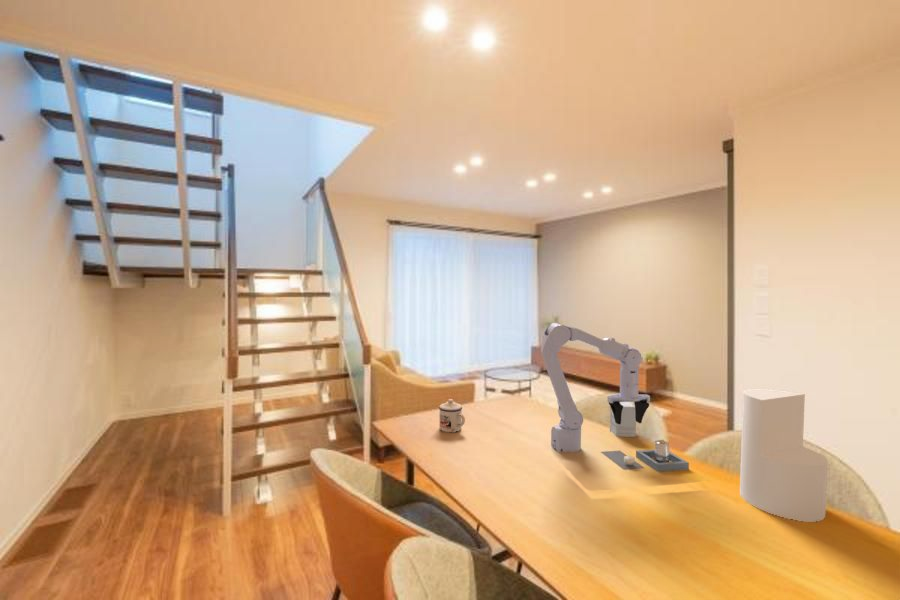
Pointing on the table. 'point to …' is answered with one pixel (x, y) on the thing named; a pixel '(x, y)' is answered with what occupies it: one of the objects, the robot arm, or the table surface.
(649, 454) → the bin
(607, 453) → the base
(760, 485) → the white stepped block
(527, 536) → the table surface
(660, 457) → the battery cell
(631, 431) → the supplement box
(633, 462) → the test button
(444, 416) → the teacup with lid
